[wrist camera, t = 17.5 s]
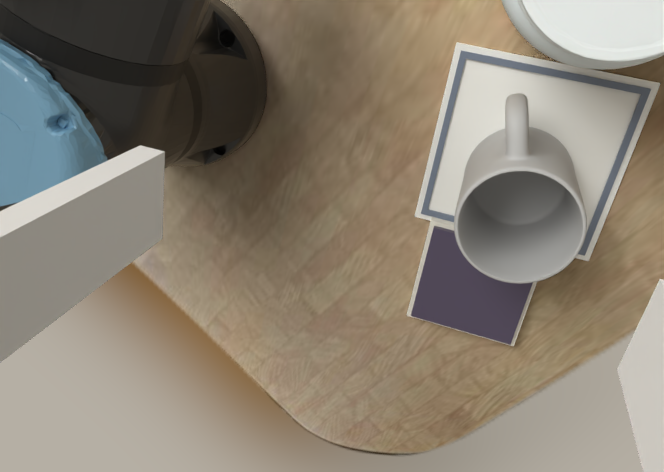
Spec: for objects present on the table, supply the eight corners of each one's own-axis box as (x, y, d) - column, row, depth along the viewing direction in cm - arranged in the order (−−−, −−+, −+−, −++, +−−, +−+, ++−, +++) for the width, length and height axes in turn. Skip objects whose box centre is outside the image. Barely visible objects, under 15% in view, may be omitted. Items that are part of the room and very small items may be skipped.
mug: (573, 223, 48) (587, 286, 39) (467, 225, 51) (456, 285, 41) (575, 74, 44) (592, 104, 34) (459, 85, 47) (444, 116, 37)
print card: (414, 215, 52) (414, 217, 52) (456, 42, 46) (456, 42, 45) (588, 260, 50) (588, 262, 49) (660, 82, 43) (661, 83, 43)
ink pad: (408, 308, 56) (405, 318, 55) (432, 215, 52) (430, 222, 50) (513, 339, 54) (513, 349, 53) (548, 244, 50) (549, 253, 48)
